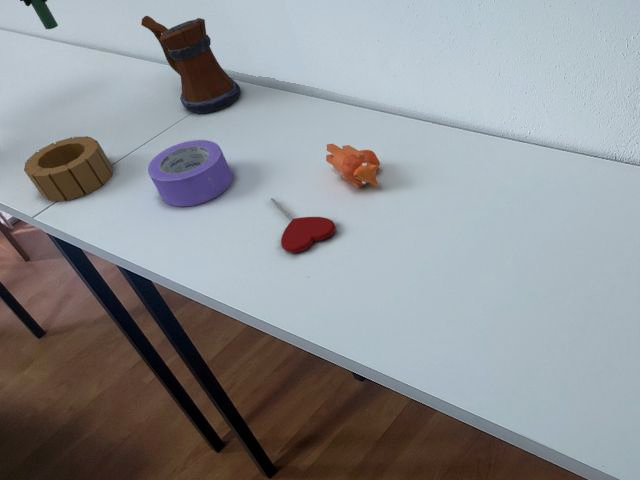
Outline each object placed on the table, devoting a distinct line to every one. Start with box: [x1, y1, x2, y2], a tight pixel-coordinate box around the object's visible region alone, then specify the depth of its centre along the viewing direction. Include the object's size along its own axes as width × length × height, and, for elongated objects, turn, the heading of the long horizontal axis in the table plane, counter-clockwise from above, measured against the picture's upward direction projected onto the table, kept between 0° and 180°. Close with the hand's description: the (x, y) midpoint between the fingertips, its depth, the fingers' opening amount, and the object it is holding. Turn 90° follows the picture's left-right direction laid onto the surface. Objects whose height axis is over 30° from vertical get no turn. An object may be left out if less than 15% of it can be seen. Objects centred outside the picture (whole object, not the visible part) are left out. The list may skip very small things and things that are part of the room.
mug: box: [141, 15, 241, 115], centre depth 122 cm, size 18×12×15 cm, turn 53°
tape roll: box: [147, 139, 233, 208], centre depth 103 cm, size 12×12×5 cm
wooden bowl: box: [23, 136, 114, 202], centre depth 109 cm, size 12×12×5 cm
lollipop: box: [270, 197, 336, 254], centre depth 94 cm, size 8×1×15 cm
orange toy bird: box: [325, 143, 381, 188], centre depth 99 cm, size 5×8×12 cm
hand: (37, 1), depth 123 cm, fingers closed on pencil, 2 cm apart
